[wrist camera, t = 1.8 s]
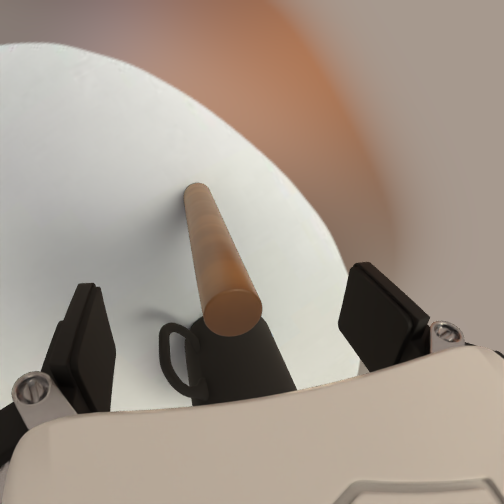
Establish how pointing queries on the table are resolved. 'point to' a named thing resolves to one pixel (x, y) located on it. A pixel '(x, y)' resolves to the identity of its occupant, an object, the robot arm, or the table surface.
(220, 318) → the stick
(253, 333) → the mug
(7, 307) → the table surface
